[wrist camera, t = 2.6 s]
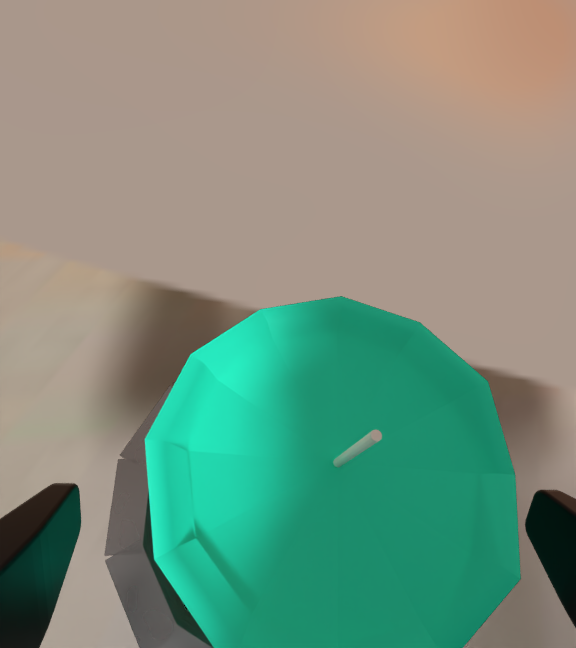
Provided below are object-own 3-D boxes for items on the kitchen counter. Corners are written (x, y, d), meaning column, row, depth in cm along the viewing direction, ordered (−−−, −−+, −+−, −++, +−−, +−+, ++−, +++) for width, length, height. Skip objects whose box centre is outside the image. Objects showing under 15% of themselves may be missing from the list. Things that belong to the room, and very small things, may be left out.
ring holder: (340, 756, 13) (370, 810, 10) (64, 575, 14) (27, 582, 11) (439, 453, 18) (478, 437, 15) (228, 337, 19) (229, 303, 16)
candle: (177, 599, 14) (41, 769, 4) (204, 420, 17) (171, 216, 6) (353, 607, 15) (693, 774, 4) (350, 433, 17) (547, 264, 7)
